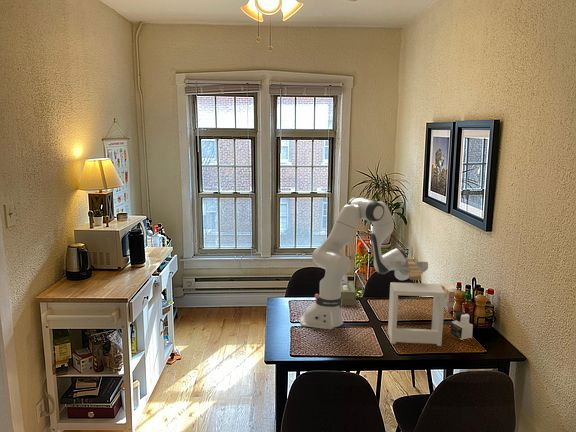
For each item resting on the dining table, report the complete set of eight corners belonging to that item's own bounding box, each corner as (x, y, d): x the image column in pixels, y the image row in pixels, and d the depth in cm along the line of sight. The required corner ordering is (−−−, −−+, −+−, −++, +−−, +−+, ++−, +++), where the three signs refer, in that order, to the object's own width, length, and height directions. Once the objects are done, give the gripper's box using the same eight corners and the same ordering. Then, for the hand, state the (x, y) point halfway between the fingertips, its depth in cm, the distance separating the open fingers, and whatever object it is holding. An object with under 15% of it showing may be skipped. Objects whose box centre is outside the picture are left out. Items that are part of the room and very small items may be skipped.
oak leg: (420, 280, 218) (421, 271, 217) (410, 279, 219) (410, 271, 217) (413, 263, 236) (414, 255, 235) (404, 262, 237) (404, 255, 235)
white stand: (391, 343, 212) (393, 290, 208) (387, 332, 224) (390, 282, 220) (441, 345, 210) (445, 292, 206) (435, 334, 222) (438, 283, 218)
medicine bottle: (450, 335, 222) (451, 312, 220) (461, 332, 225) (463, 309, 222) (460, 341, 215) (462, 317, 213) (472, 338, 218) (474, 315, 216)
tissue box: (336, 294, 279) (337, 269, 276) (352, 294, 278) (353, 269, 276) (338, 305, 260) (339, 279, 257) (355, 305, 260) (356, 279, 257)
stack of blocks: (433, 298, 272) (435, 279, 270) (443, 298, 272) (445, 278, 270) (448, 312, 251) (449, 291, 248) (459, 312, 251) (460, 291, 249)
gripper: (386, 262, 247) (389, 255, 234) (424, 263, 246) (430, 256, 233) (386, 273, 245) (390, 267, 232) (425, 274, 243) (430, 268, 230)
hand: (410, 262), depth 232 cm, fingers closed on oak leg, 3 cm apart
